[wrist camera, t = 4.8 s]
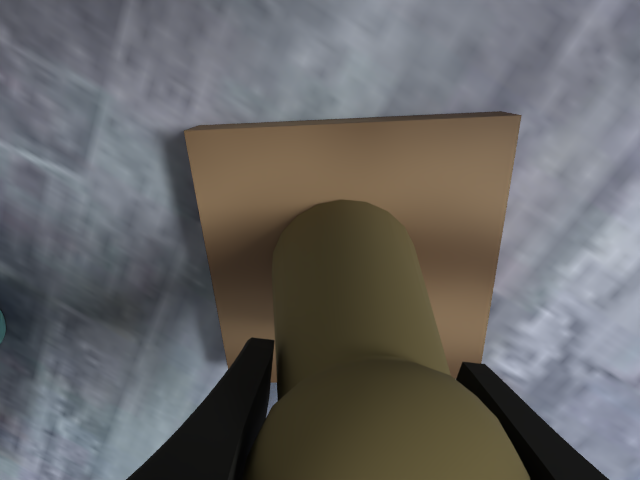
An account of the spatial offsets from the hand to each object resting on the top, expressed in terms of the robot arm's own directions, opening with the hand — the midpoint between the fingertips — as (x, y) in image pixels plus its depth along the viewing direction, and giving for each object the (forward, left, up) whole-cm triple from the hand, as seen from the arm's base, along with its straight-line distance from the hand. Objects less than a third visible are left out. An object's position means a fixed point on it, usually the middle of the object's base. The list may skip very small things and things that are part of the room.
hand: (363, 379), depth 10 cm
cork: (0, 0, -6) cm, 6 cm away
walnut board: (0, 0, -9) cm, 9 cm away
